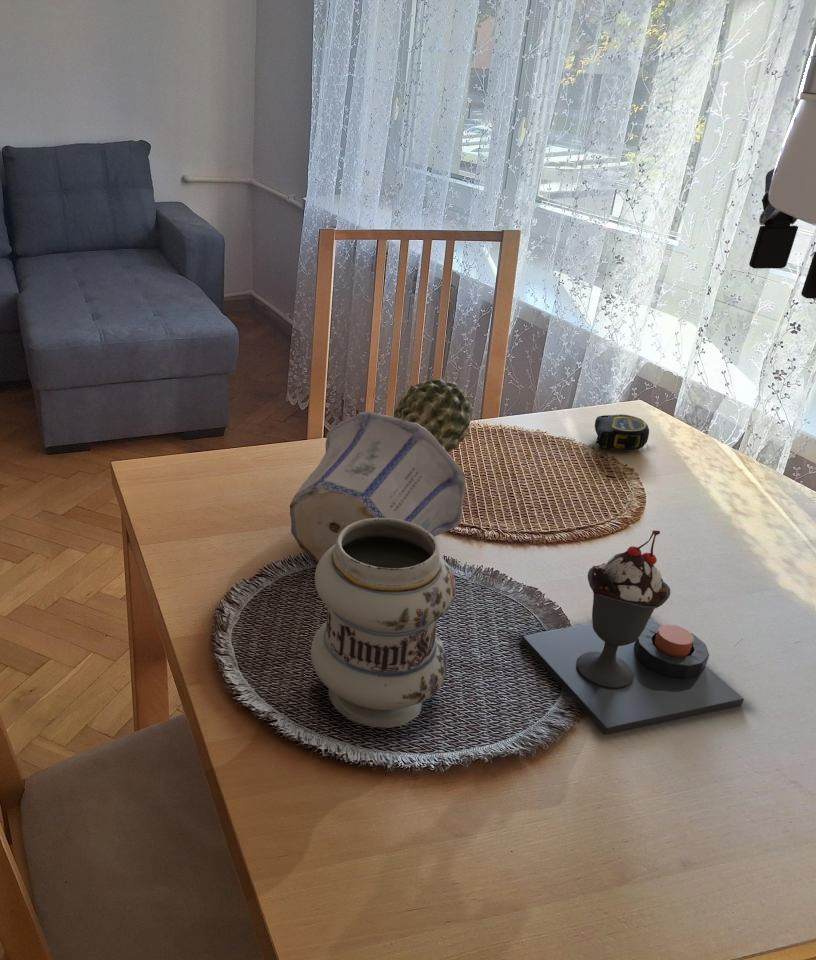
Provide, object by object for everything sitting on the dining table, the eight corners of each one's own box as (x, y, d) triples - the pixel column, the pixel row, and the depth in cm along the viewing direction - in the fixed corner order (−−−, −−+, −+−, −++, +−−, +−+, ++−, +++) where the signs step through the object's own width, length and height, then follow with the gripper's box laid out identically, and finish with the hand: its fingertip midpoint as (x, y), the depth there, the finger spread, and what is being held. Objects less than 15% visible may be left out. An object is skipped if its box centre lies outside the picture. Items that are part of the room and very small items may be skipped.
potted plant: (415, 508, 83) (524, 347, 100) (259, 466, 93) (381, 327, 110) (422, 627, 94) (520, 464, 110) (282, 578, 104) (390, 436, 121)
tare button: (674, 634, 83) (678, 622, 82) (697, 654, 81) (701, 641, 80) (647, 640, 83) (650, 627, 82) (669, 660, 80) (673, 647, 79)
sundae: (647, 659, 82) (687, 527, 75) (639, 703, 77) (681, 566, 70) (572, 638, 85) (604, 509, 78) (561, 679, 80) (593, 545, 73)
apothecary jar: (325, 648, 87) (335, 495, 79) (447, 676, 83) (472, 518, 74) (293, 730, 78) (300, 567, 69) (429, 767, 74) (455, 597, 65)
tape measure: (591, 432, 128) (596, 409, 126) (642, 438, 125) (648, 415, 124) (593, 452, 122) (598, 429, 120) (647, 459, 120) (653, 435, 118)
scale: (645, 623, 89) (652, 599, 87) (743, 711, 78) (754, 684, 76) (519, 647, 86) (524, 622, 85) (602, 741, 75) (610, 714, 74)
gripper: (978, 88, 64) (893, 310, 72) (846, 71, 79) (788, 257, 87) (869, 91, 65) (797, 310, 73) (758, 74, 80) (709, 258, 88)
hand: (792, 281), depth 80 cm, fingers open, 9 cm apart
